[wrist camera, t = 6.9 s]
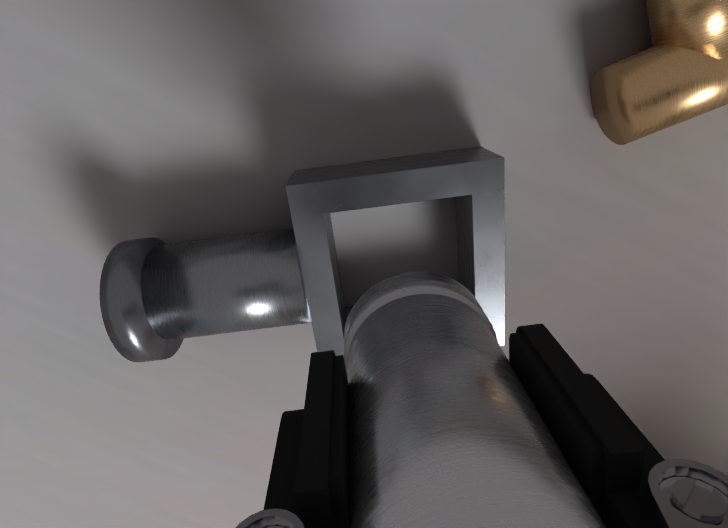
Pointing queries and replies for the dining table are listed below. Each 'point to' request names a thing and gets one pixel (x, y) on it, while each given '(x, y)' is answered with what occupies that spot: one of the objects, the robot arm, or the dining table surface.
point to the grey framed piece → (299, 258)
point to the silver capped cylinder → (446, 419)
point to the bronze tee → (666, 72)
